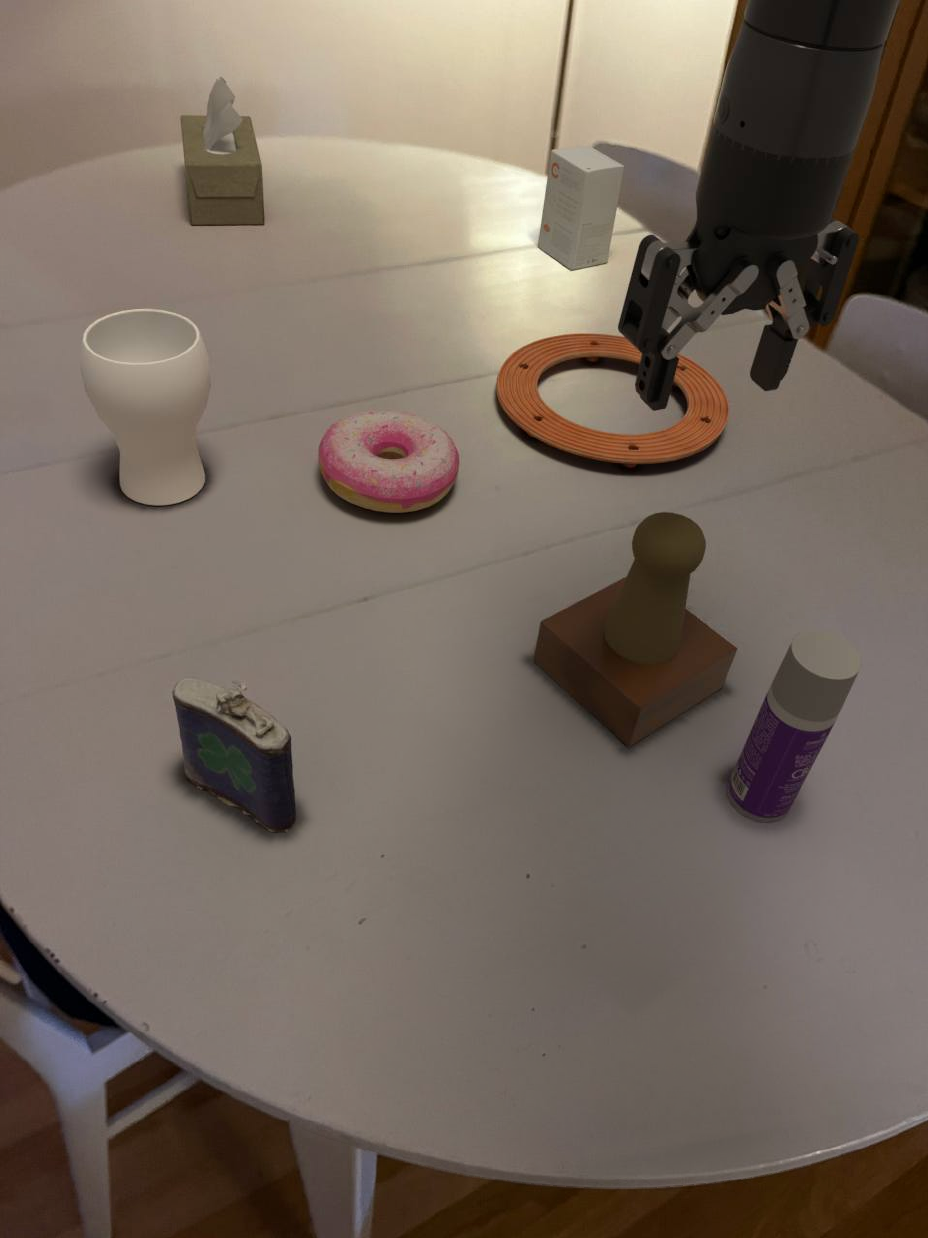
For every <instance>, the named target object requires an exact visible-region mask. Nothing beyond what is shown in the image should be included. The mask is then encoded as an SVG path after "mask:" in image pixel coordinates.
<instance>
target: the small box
mask: <svg viewBox="0 0 928 1238" xmlns="http://www.w3.org/2000/svg"><path fill="white" fill-rule="evenodd" d="M624 171H625V165H623V164H622V163H620V162H619V161H616V160H615V159H614V158H613V159H612V158H611V157H610V156H608V155H606V154H604V153H603V152H601V151H599V150H597V149H595V148H594V147H592V146H591V145H588V144H587V145H579V146H570V147H562V148H555V149H551V150H550V157H549V165H548V171H547V177H546V185H545V192H544V200H543V205H542V206H543V207H542V213H541V222H540V228H539V234H538V240H537V241H538V242H537V247H538V248H539V249H540V250H542V251H543V252H545V254H548V255H549V256H551V257H552V258H553V259H555V260H556V261H558V262H559V263H560V264H561V265H563V266H564V267H566V268H567V269H569V270H570V271H573V270H579V269H584V268H589V267H594V266H598V265H603V264H606V263H608V259H609V254H610V248H611V242H612V237H613V232H614V226H615V222H616V214H617V209H618V206H619V205H618V204H619V198H620V194H621V188H622V182H623V177H624Z"/></svg>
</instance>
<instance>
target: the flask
mask: <svg viewBox="0 0 928 1238" xmlns="http://www.w3.org/2000/svg"><path fill="white" fill-rule="evenodd" d="M231 683H232V684H237V687H236V686H233V685H229V686H227V687H222V686H220V685H218V684H215V683H213V682H210V681H208V680H203V679H201V678H200V677H199V678H198V677H187V678H184V679H182V680H180V681H178V682H176V684H175V685H174V687H173V689H172V692H171V693H172V699H173V702H174V707H175V712H176V718H177V719H176V720H177V723H178V729H179V738H180V743H181V751H182V758H183V759H182V760H183V766H184V774H185V776H186V778H187V779H188V780H189V781H190V782H191V783H192V784H193V785H195V786H196V787H197V789H199V790H203V789H204V790H206V791H208V792H209V793H211V794H212V795H213V796H214V797H216V799H217V800H219V801H221V802H222V804H226V805H227V806H228V807H235V808H239V809H240V810H242V815H247V816H251V817H252V818H253V819H254V820H255V823H258V824H259V825H261V826H262V827H263V828H265V829H267V830H268V831H269V832H273V833H277V832H278V833H281V832H286V833H288V831H289V829H291V828H292V827H293V826H294V825H295V824H296V822H297V818H298V815H297V809H296V795H295V793H296V790H295V783H294V773H293V772H294V771H293V769H294V768H293V755H292V736H291V734H290V732H289V730H288V729H287V727H285V726H284V724H282V723H281V722H279V721H278V720H277V719H276V717H274V716H273V715H271V714H270V713H269V712H268V711H266V710H265V709H264V708H263V707H261V706H259V704H257V703H255V702H253V701H252V700H251V699H249V698H248V697H245V695H243V694H242V691H247V690H248V686H247V683H245V682H244V681H243V680H242V681H237V680H235V679H233V680H232V682H231ZM238 687H239V688H240V689H241V690H240V689H239V688H238Z"/></svg>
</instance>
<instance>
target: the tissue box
mask: <svg viewBox="0 0 928 1238" xmlns="http://www.w3.org/2000/svg"><path fill="white" fill-rule="evenodd" d="M235 99H236V96H235V94H234V93H233V91H232V90H231V88H230V87H229V85H228V84H227V81H226V80H225V78H223V77H222V76H219V78H216V80H215V82H214V84H213V86H212V88H211V90H210V93H209V95H208V101H207V106H206V115H190V114H189V115H187V114H184V115H183V114H181V115H180V117H179V118H180V127H181V129H180V130H181V141H182V150H183V161H184V171H185V179H186V180H185V182H186V191H187V192H186V193H187V202H188V211H189V212H188V214H189V221H190V225H191V226H263V225H265V222H266V221H265V204H264V203H265V201H264V200H265V199H264V181H263V179H264V178H263V164H262V159H261V156H260V152H259V151H260V150H259V147H258V142H257V139H256V134H255V130H254V126H253V121H252V117H250V116H249V115H245V116H244V115H240V114H239V113H238V112H237V110H236V109H235V108H234V107H233V105H234V103H235Z"/></svg>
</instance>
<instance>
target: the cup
mask: <svg viewBox="0 0 928 1238" xmlns="http://www.w3.org/2000/svg"><path fill="white" fill-rule="evenodd" d="M80 373H81V377H82V382H83V388H84V391H85V393H86V396H87V398H88V400H89V402H90V404H91V405H92V407H93V409H94V411H95V412H96V414H97V417H99V419H100V420H101V421H102V422H103V423H104V425H105V426H106V427H107V428H108V429H109V430H110V431H111V433H112V434H113V435H114V440H115V443H116V445H117V448H118V450H119V473H118V475H119V488H120V489H121V492H122V493H123V494H124V495H125V496H126V497H127V498H129V499H130V500H133V501H134V502H137V503H140V504H143V505H148V506H170V505H175V504H179V503H181V502H184V501H188V500H189V499H191V498H192V497H194V496H196V495H197V494H198V493H199V492H200V491H201V490H202V489H203V487H204V484H205V482H206V473H205V470H204V466H203V462H202V460H201V456H200V453H199V450H198V447H197V432H198V429H197V428H198V425H199V422H200V421H201V420H202V419H201V418H202V417H203V415H204V412H205V410H206V408H207V406H208V400H209V396H210V391H211V389H212V377H211V366H210V356H209V354H208V351H207V348H206V346H205V343H204V340H203V336H202V334H201V331H200V330H199V328H198V327H197V324H196V323H194V322H193V321H192V320H191V319H189V318H187V317H185V316H183V315H181V314H179V313H175V312H171V311H168V310H165V309H164V310H163V309H154V308H135V309H128V310H120V311H117V312H114V313H109V314H107V315H105V316H102V317H100V318H97V319H96V320H94V322H92V323H91V324H89V325H88V326H87V328H86V330H84V332H83V335H82V342H81V357H80Z"/></svg>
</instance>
